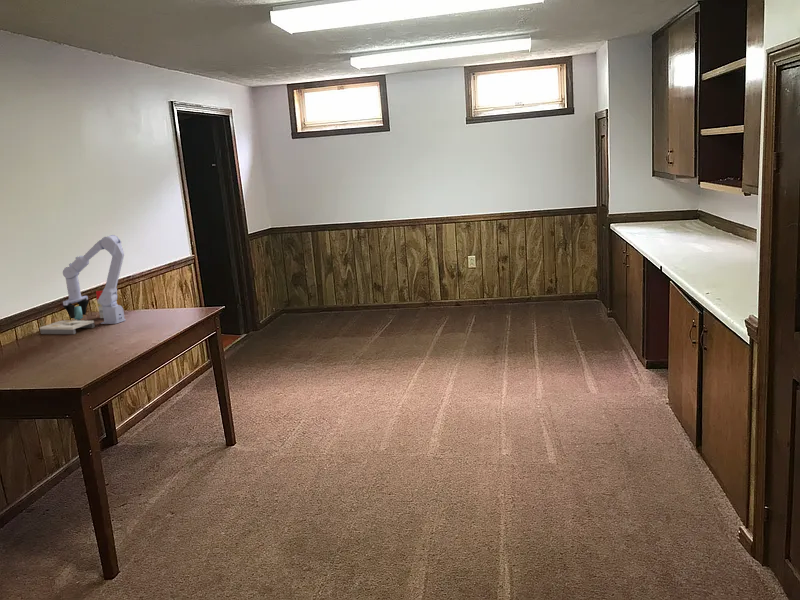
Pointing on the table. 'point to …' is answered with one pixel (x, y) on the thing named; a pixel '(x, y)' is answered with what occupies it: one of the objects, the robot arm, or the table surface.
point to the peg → (78, 313)
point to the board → (65, 327)
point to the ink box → (100, 304)
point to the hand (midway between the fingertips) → (78, 316)
